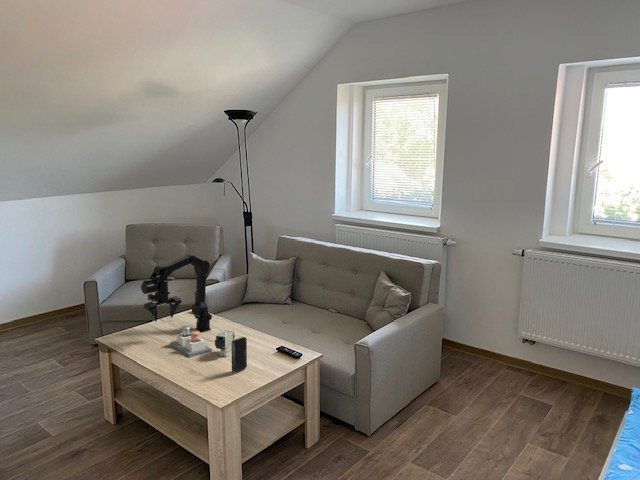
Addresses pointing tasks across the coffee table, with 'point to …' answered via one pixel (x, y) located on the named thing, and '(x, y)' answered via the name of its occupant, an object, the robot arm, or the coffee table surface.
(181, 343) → the board
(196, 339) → the plug terracotta
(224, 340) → the pneumatic valve
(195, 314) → the robot arm
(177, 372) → the coffee table surface
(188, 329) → the plug metal
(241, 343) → the phone
